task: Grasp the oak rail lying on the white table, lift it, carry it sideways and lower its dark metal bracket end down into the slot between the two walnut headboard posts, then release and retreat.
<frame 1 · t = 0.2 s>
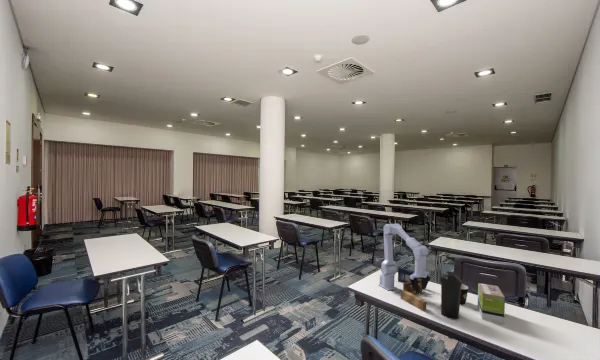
hand: (419, 289, 153), 10 cm above the table, fingers open, 7 cm apart
tea box: (489, 315, 145), on the table
rail: (412, 304, 155), on the table
coffee mug: (456, 302, 159), on the table
water bottle: (449, 315, 144), on the table
headboard: (415, 293, 169), on the table
vhs cassette tape: (411, 285, 182), on the table
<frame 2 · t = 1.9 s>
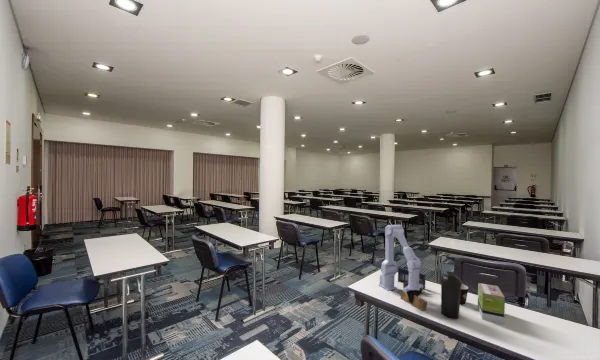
hand: (413, 301, 155), 1 cm above the table, fingers closed on rail, 3 cm apart
rail: (412, 303, 155), on the table, touching gripper
everything else where it was.
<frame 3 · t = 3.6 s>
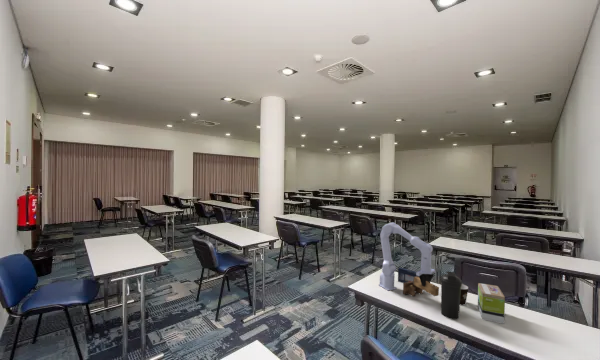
hand: (425, 285, 162), 8 cm above the table, fingers closed on rail, 3 cm apart
rail: (425, 289, 162), point 6 cm above the table, touching gripper
everything else where it was.
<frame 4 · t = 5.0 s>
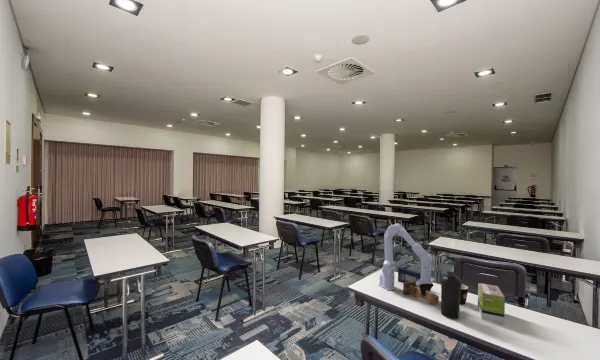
hand: (425, 294, 162), 2 cm above the table, fingers closed on rail, 3 cm apart
rail: (425, 298, 162), on the table, touching gripper
everything else where it was.
when the fingers open (2 cm above the table, at t = 5.1 s): rail stays where it is, on the table.
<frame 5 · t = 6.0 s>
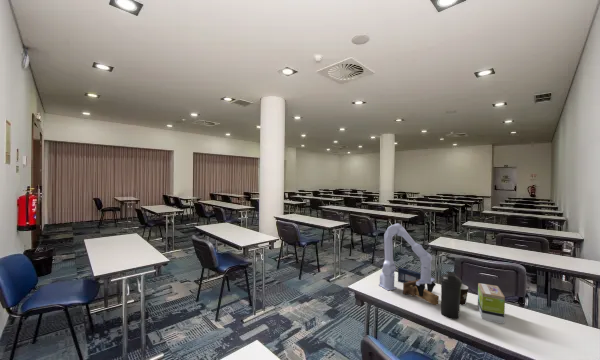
hand: (425, 294, 162), 2 cm above the table, fingers open, 7 cm apart
rail: (425, 298, 162), on the table
everything else where it was.
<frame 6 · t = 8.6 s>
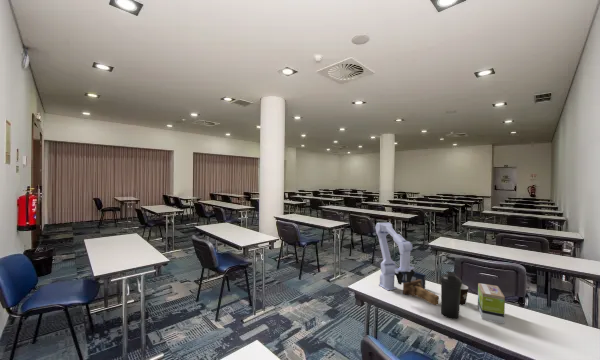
hand: (404, 283, 161), 10 cm above the table, fingers open, 7 cm apart
nothing on the table moved.
at the end: rail 0.2 cm from the target spot on the table beside the headboard, on the table; rail tilted 0°; the gripper is holding nothing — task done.
